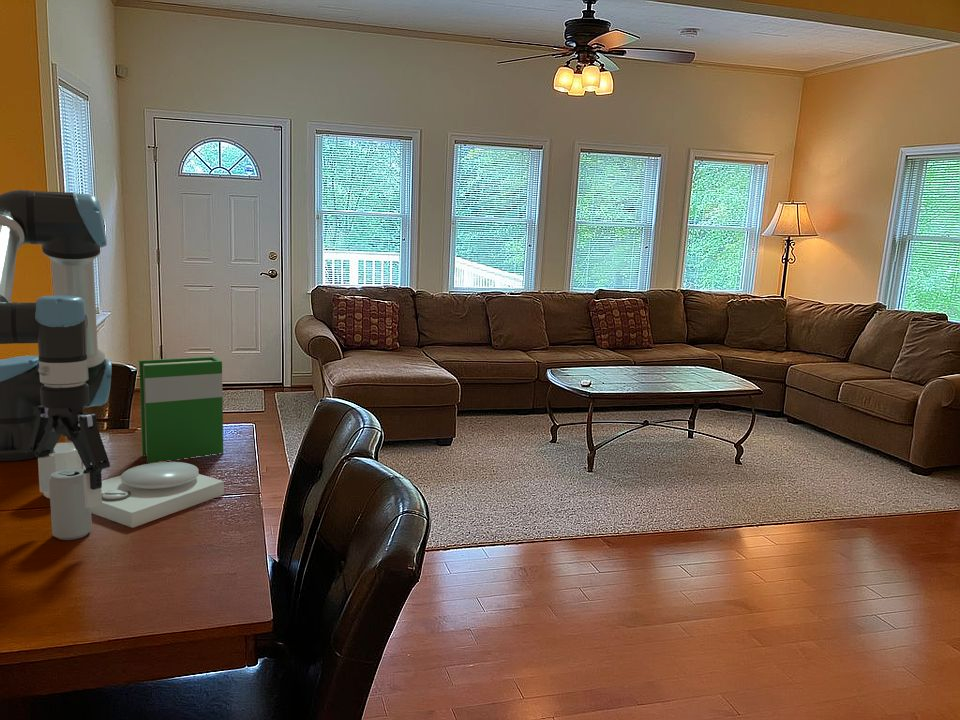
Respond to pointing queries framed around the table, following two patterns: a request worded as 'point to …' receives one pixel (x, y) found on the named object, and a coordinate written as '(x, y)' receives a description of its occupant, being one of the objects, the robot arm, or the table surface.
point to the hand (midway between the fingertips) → (70, 497)
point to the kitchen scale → (154, 492)
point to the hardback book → (181, 408)
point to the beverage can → (69, 504)
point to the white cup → (65, 458)
